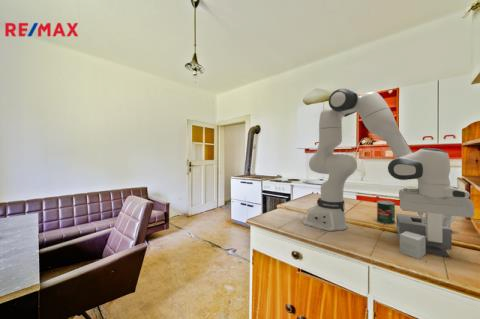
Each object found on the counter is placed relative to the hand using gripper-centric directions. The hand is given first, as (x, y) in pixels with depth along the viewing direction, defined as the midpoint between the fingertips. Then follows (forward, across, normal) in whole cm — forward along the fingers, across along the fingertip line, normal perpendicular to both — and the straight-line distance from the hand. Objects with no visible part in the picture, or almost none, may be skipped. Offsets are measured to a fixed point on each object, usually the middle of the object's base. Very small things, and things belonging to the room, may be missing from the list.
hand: (433, 224), depth 75 cm
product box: (+11, -7, -6) cm, 14 cm away
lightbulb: (+12, +9, +27) cm, 31 cm away
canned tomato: (+12, -14, +28) cm, 33 cm away
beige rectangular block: (+7, 0, 0) cm, 7 cm away
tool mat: (+11, 0, 0) cm, 11 cm away
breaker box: (+11, -2, +12) cm, 16 cm away
